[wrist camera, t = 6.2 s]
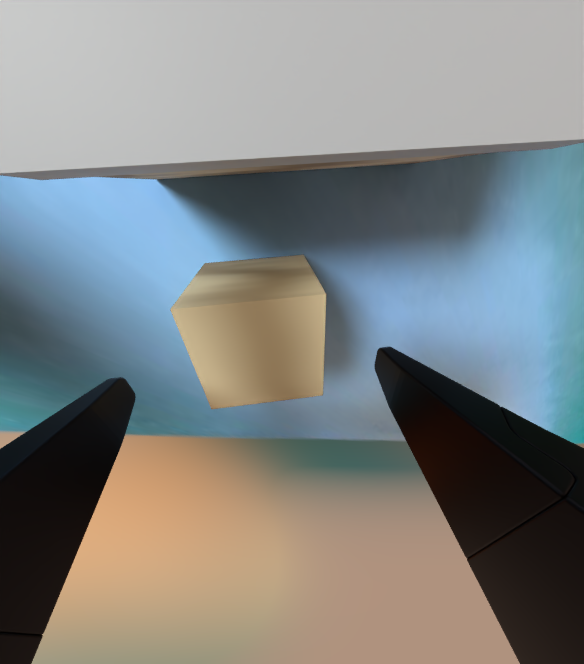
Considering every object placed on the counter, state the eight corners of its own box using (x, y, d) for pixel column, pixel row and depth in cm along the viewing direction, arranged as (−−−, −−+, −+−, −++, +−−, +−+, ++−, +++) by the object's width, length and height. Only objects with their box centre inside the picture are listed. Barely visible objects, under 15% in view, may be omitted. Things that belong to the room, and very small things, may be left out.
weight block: (226, 342, 14) (211, 409, 10) (204, 262, 11) (170, 309, 7) (305, 333, 14) (322, 395, 10) (303, 254, 11) (326, 293, 7)
